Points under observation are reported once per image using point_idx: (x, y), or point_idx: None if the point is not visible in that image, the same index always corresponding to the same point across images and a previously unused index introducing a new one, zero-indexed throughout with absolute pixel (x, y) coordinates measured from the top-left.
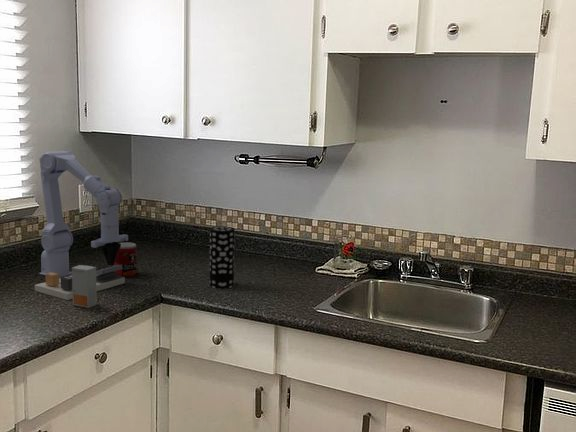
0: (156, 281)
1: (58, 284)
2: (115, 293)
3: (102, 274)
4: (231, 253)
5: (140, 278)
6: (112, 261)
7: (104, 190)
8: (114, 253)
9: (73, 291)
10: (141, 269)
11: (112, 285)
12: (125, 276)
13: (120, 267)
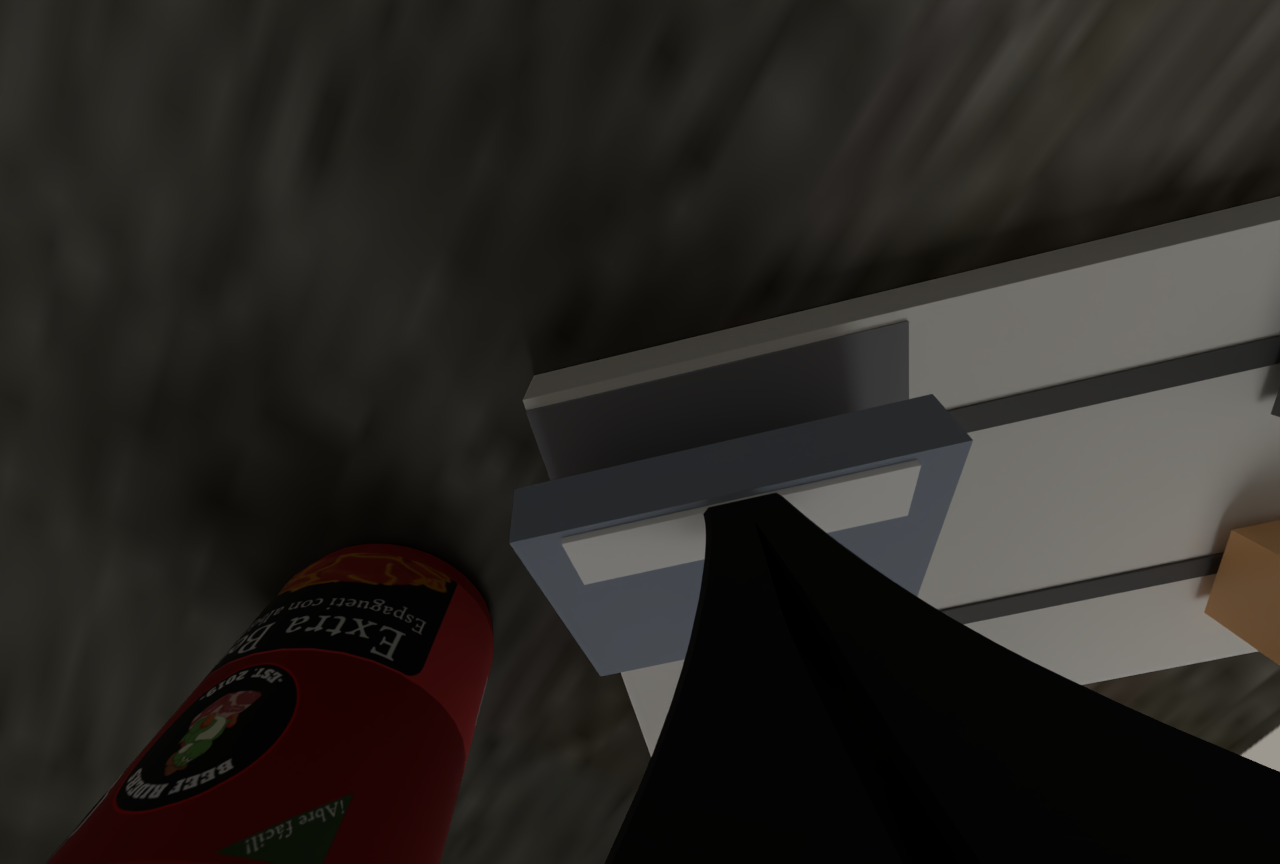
0: (134, 186)
1: (1241, 529)
2: (868, 21)
3: None
4: None
5: (304, 429)
6: (785, 527)
7: None
8: (809, 682)
9: None
10: (200, 672)
11: (723, 333)
12: (433, 557)
13: (553, 501)
